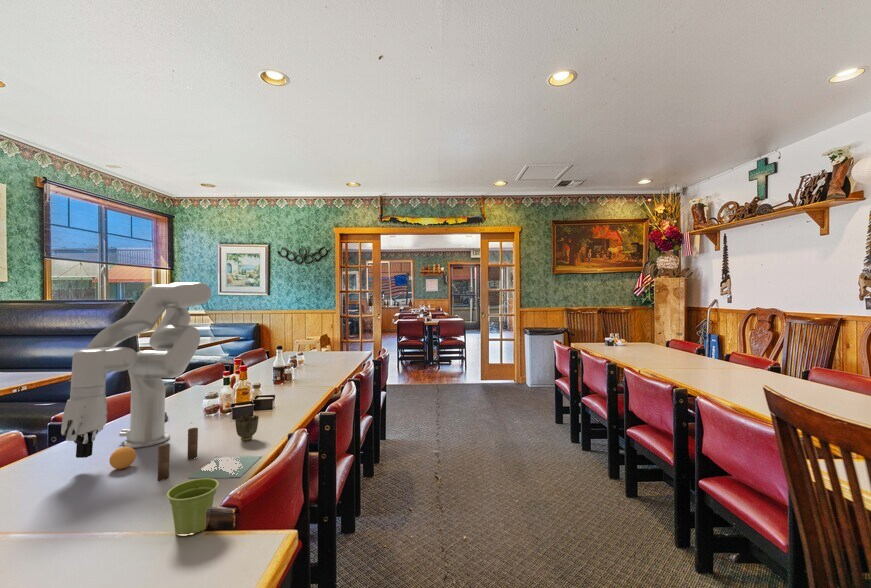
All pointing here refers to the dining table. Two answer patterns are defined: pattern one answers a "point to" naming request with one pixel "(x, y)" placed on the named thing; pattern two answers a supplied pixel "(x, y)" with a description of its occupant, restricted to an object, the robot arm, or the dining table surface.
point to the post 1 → (163, 461)
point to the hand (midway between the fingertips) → (83, 456)
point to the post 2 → (192, 443)
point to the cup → (246, 427)
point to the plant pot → (192, 504)
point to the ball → (122, 457)
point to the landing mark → (244, 460)
